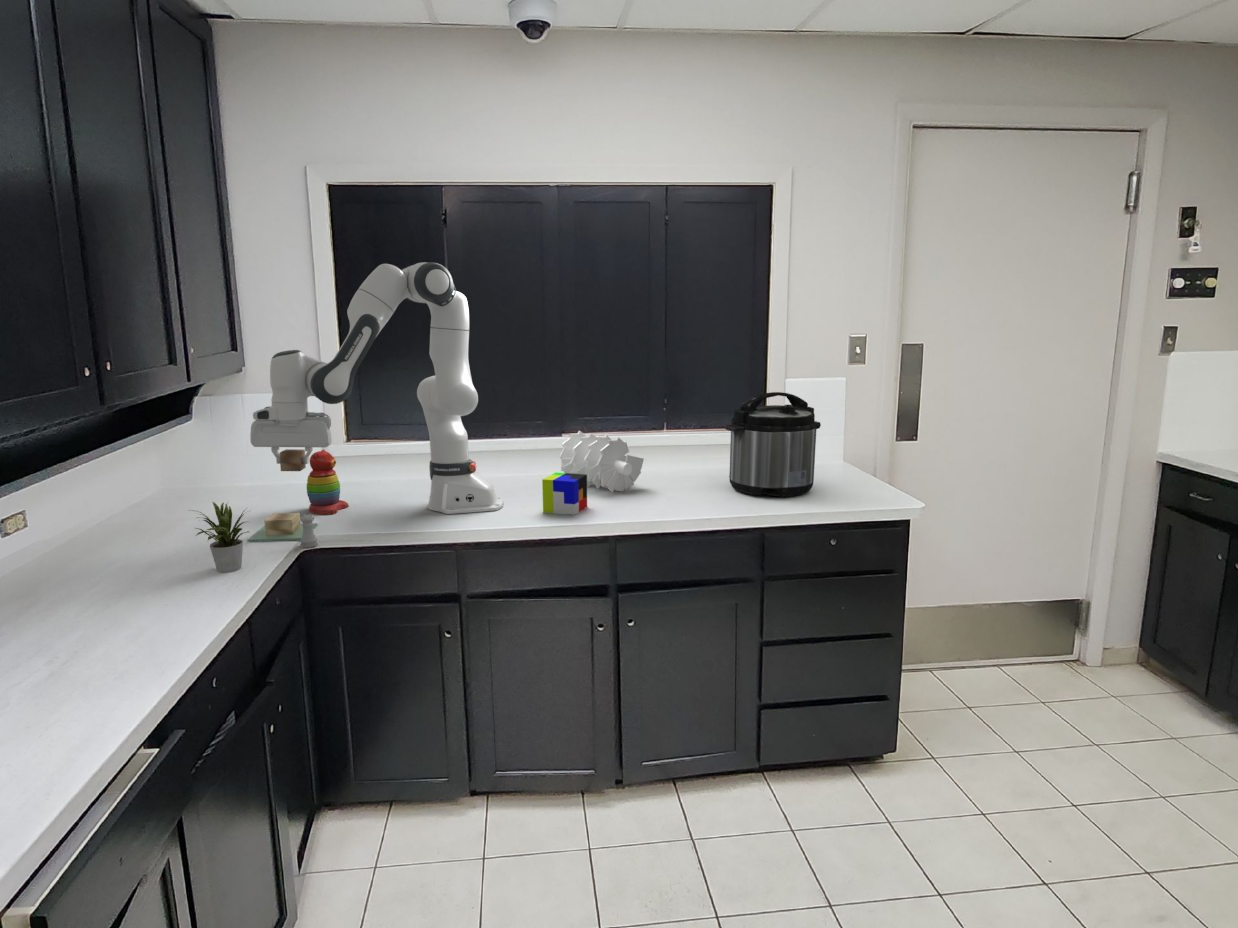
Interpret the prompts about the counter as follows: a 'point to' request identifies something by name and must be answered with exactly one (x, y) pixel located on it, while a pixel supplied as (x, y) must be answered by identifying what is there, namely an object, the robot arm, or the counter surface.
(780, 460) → the pressure cooker
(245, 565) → the counter surface
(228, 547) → the house plant
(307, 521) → the rook chess piece
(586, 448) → the spiral staircase
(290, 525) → the oak base block
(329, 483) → the stacking bear
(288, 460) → the walnut cube
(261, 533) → the build pad
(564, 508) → the puzzle toy
